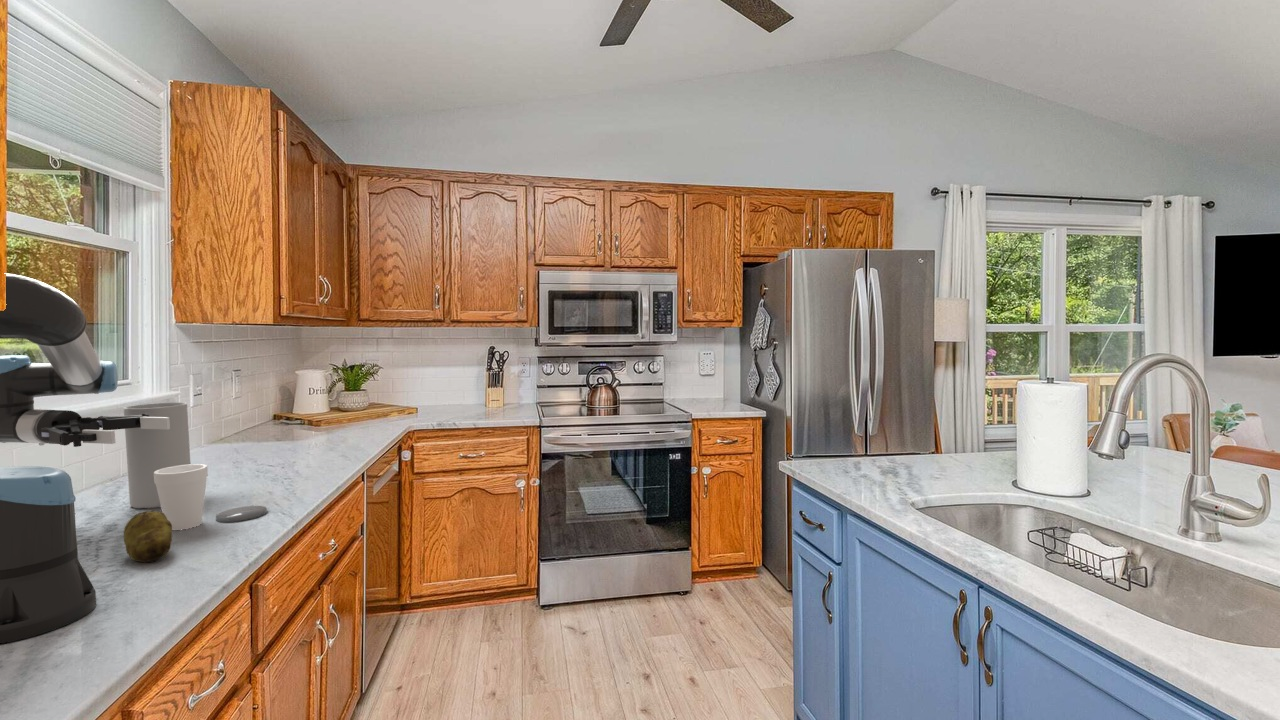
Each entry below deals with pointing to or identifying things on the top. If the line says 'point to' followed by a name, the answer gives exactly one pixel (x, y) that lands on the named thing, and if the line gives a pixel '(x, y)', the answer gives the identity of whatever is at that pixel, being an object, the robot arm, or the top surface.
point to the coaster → (241, 513)
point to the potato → (148, 536)
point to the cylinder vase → (155, 450)
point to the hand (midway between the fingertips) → (142, 429)
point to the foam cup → (182, 494)
